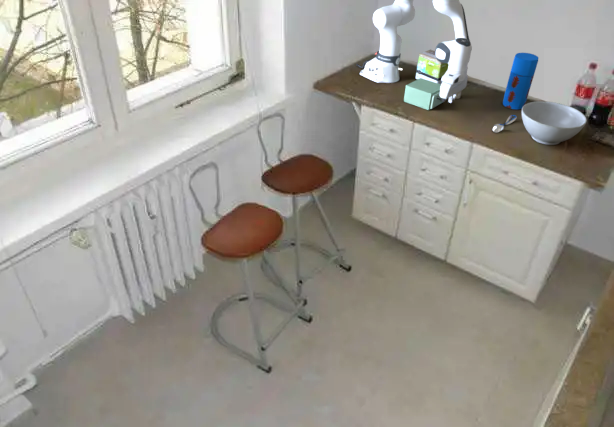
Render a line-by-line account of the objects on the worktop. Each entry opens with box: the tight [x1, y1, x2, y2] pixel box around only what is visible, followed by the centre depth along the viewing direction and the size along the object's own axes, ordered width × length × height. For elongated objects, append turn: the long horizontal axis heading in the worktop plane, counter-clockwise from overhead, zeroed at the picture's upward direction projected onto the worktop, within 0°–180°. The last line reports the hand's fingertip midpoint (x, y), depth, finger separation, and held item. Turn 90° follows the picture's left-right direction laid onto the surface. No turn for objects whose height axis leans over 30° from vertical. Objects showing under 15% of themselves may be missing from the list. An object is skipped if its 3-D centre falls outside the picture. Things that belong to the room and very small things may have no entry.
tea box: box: [415, 49, 449, 84], centre depth 282 cm, size 15×10×15 cm, turn 41°
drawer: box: [430, 91, 449, 110], centre depth 260 cm, size 18×12×7 cm
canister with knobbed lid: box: [455, 90, 463, 100], centre depth 266 cm, size 5×5×14 cm
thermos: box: [502, 52, 539, 110], centre depth 257 cm, size 11×11×25 cm
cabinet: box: [403, 78, 441, 111], centre depth 262 cm, size 15×14×9 cm
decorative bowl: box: [521, 100, 588, 146], centre depth 232 cm, size 27×27×12 cm
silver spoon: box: [492, 114, 517, 134], centre depth 244 cm, size 20×4×5 cm
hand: (451, 101), depth 254 cm, fingers closed
